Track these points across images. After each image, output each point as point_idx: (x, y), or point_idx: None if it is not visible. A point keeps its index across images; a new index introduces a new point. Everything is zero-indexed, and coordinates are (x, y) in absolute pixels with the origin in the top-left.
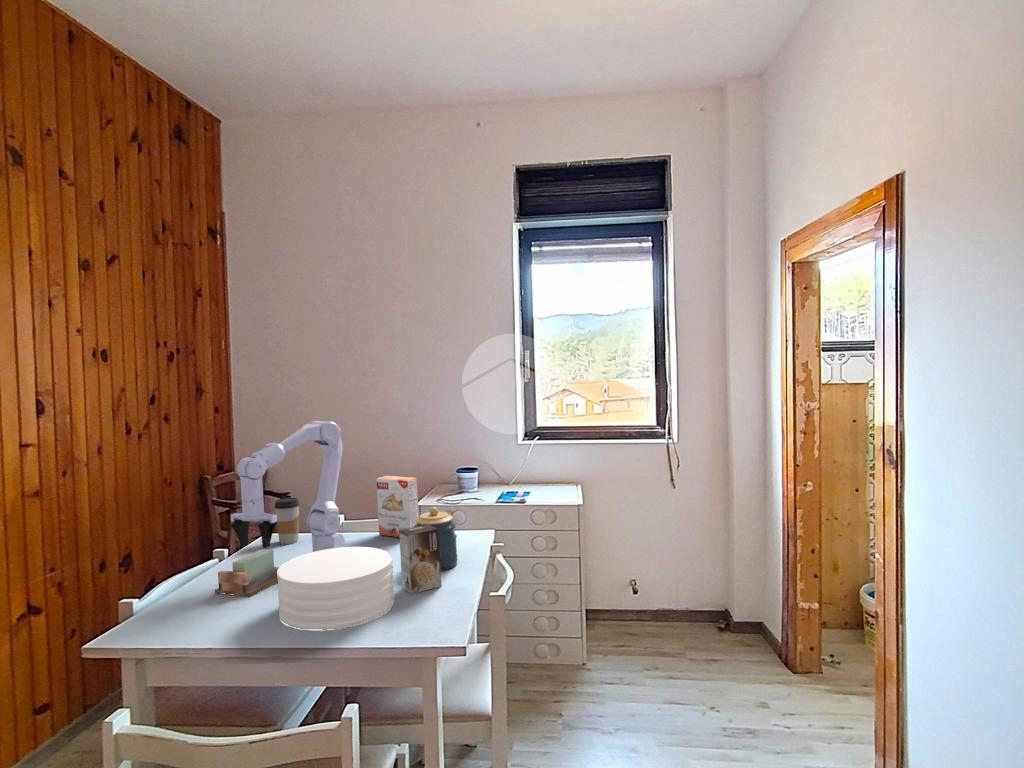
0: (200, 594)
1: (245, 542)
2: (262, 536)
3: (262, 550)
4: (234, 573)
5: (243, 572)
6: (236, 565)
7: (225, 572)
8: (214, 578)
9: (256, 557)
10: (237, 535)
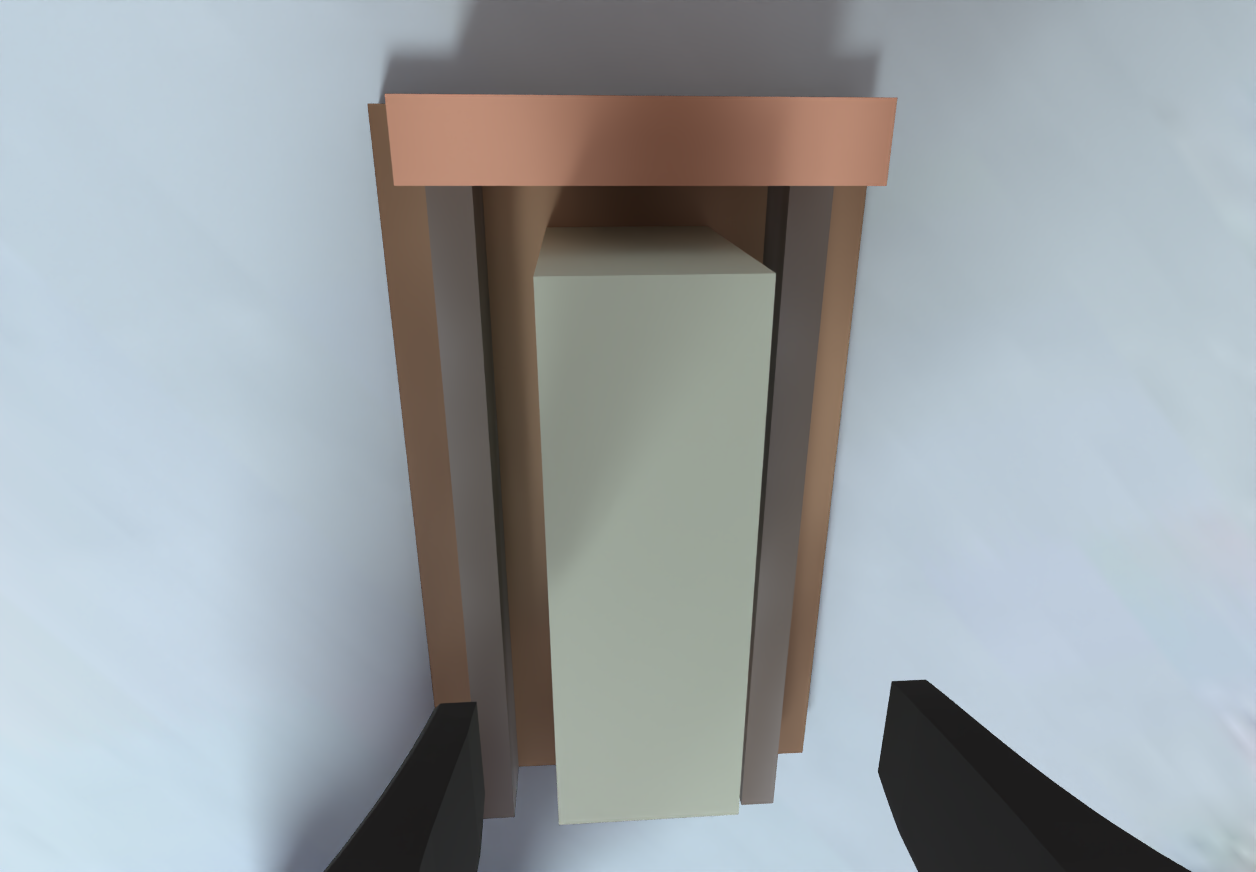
0: (1006, 50)
1: (906, 773)
2: (392, 865)
3: (696, 785)
4: (589, 103)
5: (479, 173)
6: (687, 268)
7: (769, 117)
8: (1128, 465)
9: (552, 549)
10: (1087, 813)
